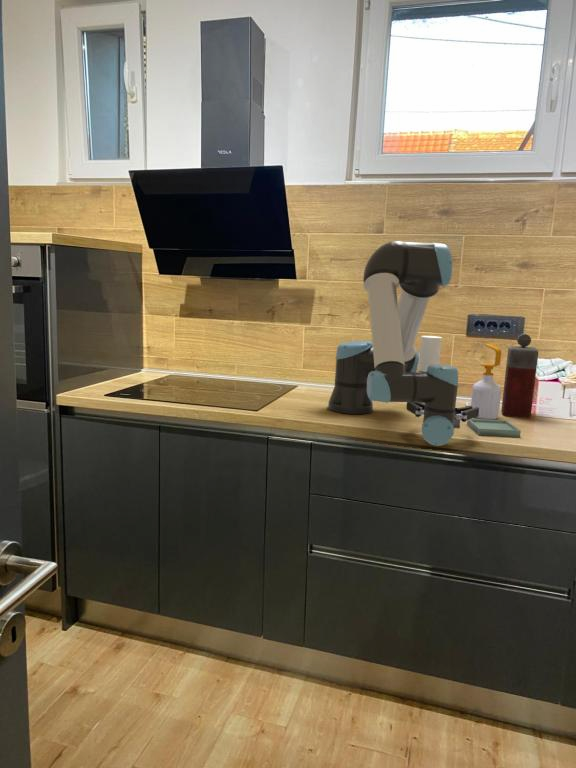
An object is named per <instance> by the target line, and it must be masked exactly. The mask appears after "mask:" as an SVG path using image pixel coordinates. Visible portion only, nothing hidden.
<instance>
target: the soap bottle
mask: <svg viewBox="0 0 576 768" xmlns="http://www.w3.org/2000/svg"><path fill="white" fill-rule="evenodd" d="M484 346H486V347H487V348H489V349H492V350H494V351H495V358H494V363H480V366H482V367H484V369H485V372H483V373H482V379H481V380H478V381H477V382H475V383H474V384H473V385H472V389H471V397H470V398H471V401H470V406H472V407H473V408H476V407H478V408H479V415H478V417H475V418H474V419H485V420H498V418H499V412H500V403H501V394H502V388H501V386H500V385H499V383H497V382H496V381H495V380H494V376H495V375H494V373H493V372H492V370H494V368H496V367H498V366H500V365H501V361H502V360H501V358H502V349H501V348H500V347H499V346H495V345H494V344H491V343H485V344H484Z"/></svg>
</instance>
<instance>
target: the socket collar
mask: <svg viewBox="0 0 576 768" xmlns="http://www.w3.org/2000/svg"><path fill="white" fill-rule="evenodd" d="M460 427H461V420H460V418H456V419H455V420H454V428H460Z"/></svg>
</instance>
